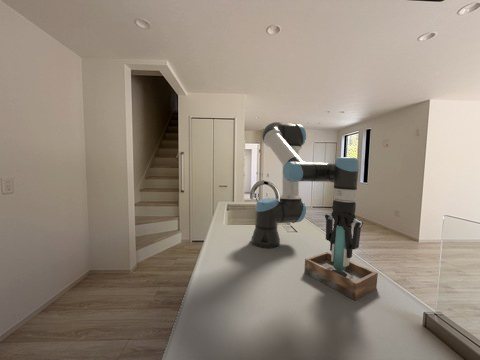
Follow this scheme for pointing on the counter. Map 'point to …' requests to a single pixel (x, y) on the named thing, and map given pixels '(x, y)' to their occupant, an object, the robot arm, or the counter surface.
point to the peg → (339, 248)
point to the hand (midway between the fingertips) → (339, 262)
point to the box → (342, 276)
